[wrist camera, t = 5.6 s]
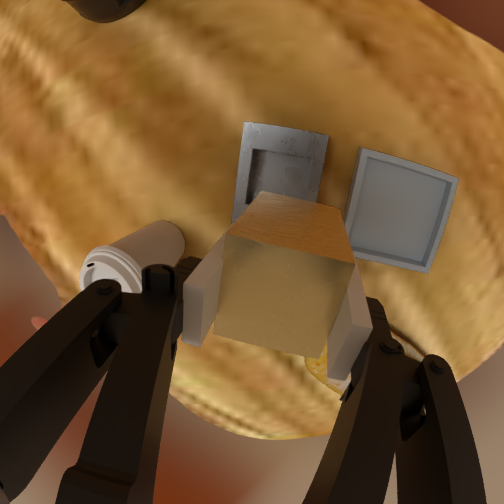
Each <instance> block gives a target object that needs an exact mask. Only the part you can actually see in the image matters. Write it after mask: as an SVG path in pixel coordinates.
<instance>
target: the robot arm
mask: <svg viewBox="0 0 504 504" xmlns="http://www.w3.org/2000/svg"><path fill="white" fill-rule="evenodd" d="M62 1H66V2H67V3H69V4H70V5H71V6H72V7H73V8H74V9H75V10H76V11H78V12H79V14H80V15H81V16H82V17H84V18H86V19H88V20H91V21H94V22H98V23H107V22H112V21H115V20H118V19H120V18H122V17H124V16H126V15H127V14H129V13H131V12H132V11H133V10H135V9H136V8H137V7H139V6H140V5H141V4H142V3H143V2H144V1H145V0H62ZM233 224H234V223H233ZM233 224H232V225H233ZM232 225H231V226H232ZM231 226H230V227H229V228H228V229H227V231H228V230H229V229H230V228H231ZM227 231H226V232H227ZM226 232H225V233H224V234H223V235H222V237H221V238H220V239H219V240H218V242H217V243H216V244H215V245H214V246H213V248H212V249H211V250H210V251H209V252H208V254H207V255H206V256H205V257H204V259H199V258H195V257H191V256H190V257H188V258H186V259H183V260H182V261H181V262H180V263H179V264H178V265H177V267H175V268H174V267H172V266H170V265H166V264H152V265H149V266H146V267H144V268H143V269H142V270H141V278H142V292H141V293H129V292H122V287H121V284H120V283H119V282H118V281H116V280H113V279H100V280H96V281H94V282H93V283H91V284H90V285H89V286H87V287H86V288H85V289H84V290H83V291H82V292H80V293H79V294H78V295H77V296H76V297H75V298H73V299H72V300H71V301H70V302H69V303H68V304H67V305H65V306H64V307H63V308H62V309H61V310H60V311H59V312H58V313H56V314H55V315H54V316H53V317H52V318H51V319H50V320H49V321H48V322H47V323H45V324H44V325H43V326H42V327H41V328H40V329H39V330H38V331H37V332H36V333H35V334H34V335H33V336H32V337H31V338H30V339H28V340H27V341H26V342H25V343H24V344H23V345H22V346H21V347H20V348H19V349H18V350H17V351H16V352H15V353H14V354H13V355H12V356H11V357H10V358H9V359H8V360H7V361H6V362H5V363H4V364H3V365H2V366H1V367H0V504H10V502H11V501H12V500H13V499H15V498H16V497H17V496H18V495H19V494H20V493H21V492H22V491H23V490H24V489H25V488H26V487H27V485H28V484H29V482H30V481H31V480H32V478H33V477H34V475H35V474H36V472H37V471H38V469H39V467H40V466H41V464H42V463H43V461H44V460H45V458H46V457H47V455H48V454H49V452H50V451H51V449H52V448H53V446H54V445H55V443H56V442H57V440H58V439H59V437H60V436H61V435H62V433H63V432H64V430H65V429H66V427H67V426H68V425H69V423H70V422H71V420H72V419H73V417H74V416H75V415H76V413H77V412H78V410H79V409H80V407H81V406H82V404H83V403H84V402H85V401H86V399H87V398H88V396H89V395H90V393H91V392H92V391H93V390H94V388H95V387H96V385H97V384H98V383H99V381H100V380H101V378H102V377H103V376H104V375H105V373H106V372H107V371H108V372H107V375H106V378H105V380H104V383H103V386H102V388H101V391H100V394H99V397H98V399H97V402H96V405H95V408H94V411H93V414H92V417H91V420H90V423H89V426H88V429H87V433H86V435H85V439H84V442H83V445H82V449H81V452H80V456H79V459H78V461H77V463H76V465H75V466H72V467H70V468H68V469H67V470H66V471H65V473H64V474H63V477H62V480H61V483H60V486H59V490H58V494H57V498H56V503H55V504H152V502H153V494H154V485H155V478H156V470H157V462H158V455H159V448H160V441H161V435H162V428H163V422H164V416H165V410H166V404H167V398H168V393H169V387H170V382H171V376H172V371H173V366H174V361H175V356H176V351H177V339H178V337H179V336H180V334H181V332H182V342H184V343H187V344H190V345H194V346H197V347H200V346H201V344H202V342H203V340H204V338H205V336H206V335H207V333H208V331H209V329H210V327H211V325H212V323H213V321H214V319H215V317H216V315H217V308H218V300H219V292H220V283H221V275H222V268H223V260H222V256H223V248H224V241H225V234H226ZM352 252H353V251H352ZM353 256H354V259H355V255H354V252H353ZM355 263H356V265H355V268H354V271H353V274H352V277H351V279H350V282H349V285H348V288H347V290H346V293H345V296H344V299H343V301H342V304H341V307H340V309H339V312H338V314H337V317H336V319H335V322H334V324H333V327H332V329H331V332H330V334H329V337H328V339H327V378H330V379H336V380H342V381H345V380H346V379H347V377H348V375H349V373H350V371H351V381H350V383H349V385H348V386H347V388H346V390H345V391H344V393H343V395H342V396H341V398H340V399H339V400H340V401H342V400H343V401H342V404H341V407H340V410H339V413H338V416H337V419H336V422H335V425H334V428H333V430H332V433H331V436H330V439H329V441H328V444H327V447H326V449H325V452H324V455H323V457H322V460H321V462H320V464H319V467H318V470H317V472H316V474H315V476H314V479H313V481H312V483H311V486H310V488H309V490H308V492H307V494H306V497H305V499H304V501H303V503H302V504H383V502H384V499H385V495H386V491H387V487H388V482H389V477H390V473H391V469H392V464H393V458H394V453H395V454H396V470H397V495H398V504H487V503H486V496H485V489H484V483H483V478H482V473H481V468H480V463H479V459H478V454H477V450H476V446H475V442H474V438H473V434H472V431H471V427H470V423H469V420H468V417H467V413H466V410H465V407H464V404H463V401H462V398H461V395H460V392H459V389H458V386H457V383H456V380H455V378H454V375H453V372H452V370H451V367H450V366H449V364H448V363H447V362H446V361H445V360H444V359H443V358H441V357H440V356H437V355H434V354H429V355H427V356H425V357H424V358H423V360H422V362H420V361H417V360H415V359H412V358H410V357H408V356H406V355H405V351H404V348H403V346H402V345H401V343H400V342H398V341H397V340H396V339H394V338H392V335H391V331H390V328H389V324H388V321H387V318H386V315H385V311H384V308H383V306H382V305H381V303H380V302H379V301H378V300H377V299H374V298H369V297H366V296H365V292H364V288H363V285H362V281H361V277H360V273H359V270H358V266H357V262H356V259H355ZM108 369H109V370H108ZM424 408H425V409H426V415H425V412H424Z"/></svg>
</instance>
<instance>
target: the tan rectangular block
mask: <svg viewBox="0 0 504 504" xmlns="http://www.w3.org/2000/svg"><path fill="white" fill-rule="evenodd" d="M222 260H223V268H222V275H221V283H220V292H219V300H218V308H217V315H216V317H215V323H214V332H213V334H215V335H219V336H223V337H226V338H230V339H234V340H237V341H241V342H245V343H249V344H253V345H257V346H261V347H265V348H269V349H274V350H278V351H282V352H287V353H291V354H296V355H301V356H305V357H310V358H315V359H319V358H320V356H321V353H322V351H323V349H324V346H325V344H326V341H327V339H328V337H329V334H330V332H331V329H332V327H333V324H334V322H335V319H336V317H337V314H338V312H339V309H340V307H341V304H342V301H343V299H344V296H345V293H346V290H347V288H348V285H349V282H350V279H351V277H352V274H353V271H354V268H355V265H356V263H355V259H354V256H353V252H352V249H351V245H350V242H349V238H348V235H347V232H346V228H345V225H344V222H343V219H342V216H341V212H340V209H339V208H336V207H331V206H327V205H323V204H319V203H315V202H311V201H306V200H302V199H298V198H293V197H289V196H284V195H280V194H275V193H270V192H265V191H261V192H260V193H259V194H258V195H257V196H256V198H255V199H254V200H253V201H252V202H251V204H250V205H249V206H248V207H247V208H246V210H245V211H244V212H243V213H242V214H241V216H240V217H239V218H238V219H237V220H236V222H235V223H234V224H233V225H232V226H231V228H230V229H229V230H228V231H227V232H226V234H225V241H224V248H223V256H222Z"/></svg>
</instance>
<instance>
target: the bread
mask: <svg viewBox="0 0 504 504" xmlns="http://www.w3.org/2000/svg"><path fill="white" fill-rule="evenodd" d="M390 331H391V330H390ZM391 335H392V338H394V339H396V340H397V341H398V342H400V343H401V345H402V346H403V348H404V351H405V355H406V356H408V357H410V358H412V359H415V360H417V361H420V362H422V360H423V358H424V357H425V356H424V355H423V354H421V353H420V352H419V351H418V350H417V349H416V348H415V347H414V346H412V345H411V344H410V343H408V342H406V341H405V340H404V339H402V338H401V337H399V336H398V335H396V334H395V333H394V332H392V331H391ZM304 357H305V356H304ZM305 365H306V367H307V370H308V371H309V372H310V373H311V374H312V375H313V376H315V377H316V378H317V379H318V380H319V381H320V382H322V383H323V384H325V385H326V386H327V387H329V388H330V389H332V390H333V391H335V392H337V393H338V394H340V395H341V396H342V395H343V393H344V391H345V390H346V388H347V386H348V385H349V383H350V381H351V371H350V373H349V375H348V377H347V379H346V380H345V381H342V380H336V379H330V378H327V341H326V344H325V346H324V349H323V351H322V353H321V356H320V358H319V359H315V358H310V357H305Z"/></svg>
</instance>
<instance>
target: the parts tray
mask: <svg viewBox="0 0 504 504" xmlns="http://www.w3.org/2000/svg"><path fill="white" fill-rule="evenodd" d="M458 180H459V178H456V177H454V176H452V175H449V174H447V173H444V172H441V171H438V170H435V169H433V168H430V167H427V166H424V165H421V164H418V163H415V162H412V161H408V160H405V159H402V158H399V157H395V156H392V155H388V154H385V153H381V152H378V151H374V150H370V149H367V148H363V147H359V148H358V154H357V159H356V164H355V168H354V173H353V178H352V182H351V187H350V191H349V196H348V200H347V204H346V209H345V213H344V217H343V222H344V225H345V228H346V232H347V235H348V238H349V242H350V245H351V249H352V251H353V252H354V255H355V258H360V259H365V260H369V261H374V262H378V263H383V264H387V265H392V266H396V267H401V268H405V269H410V270H414V271H418V272H423V273H427V274H428V273H429V270H430V268H431V265H432V262H433V260H434V257H435V255H436V252H437V249H438V246H439V244H440V241H441V238H442V235H443V232H444V229H445V226H446V223H447V220H448V216H449V213H450V210H451V206H452V203H453V199H454V196H455V192H456V188H457V184H458Z"/></svg>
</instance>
